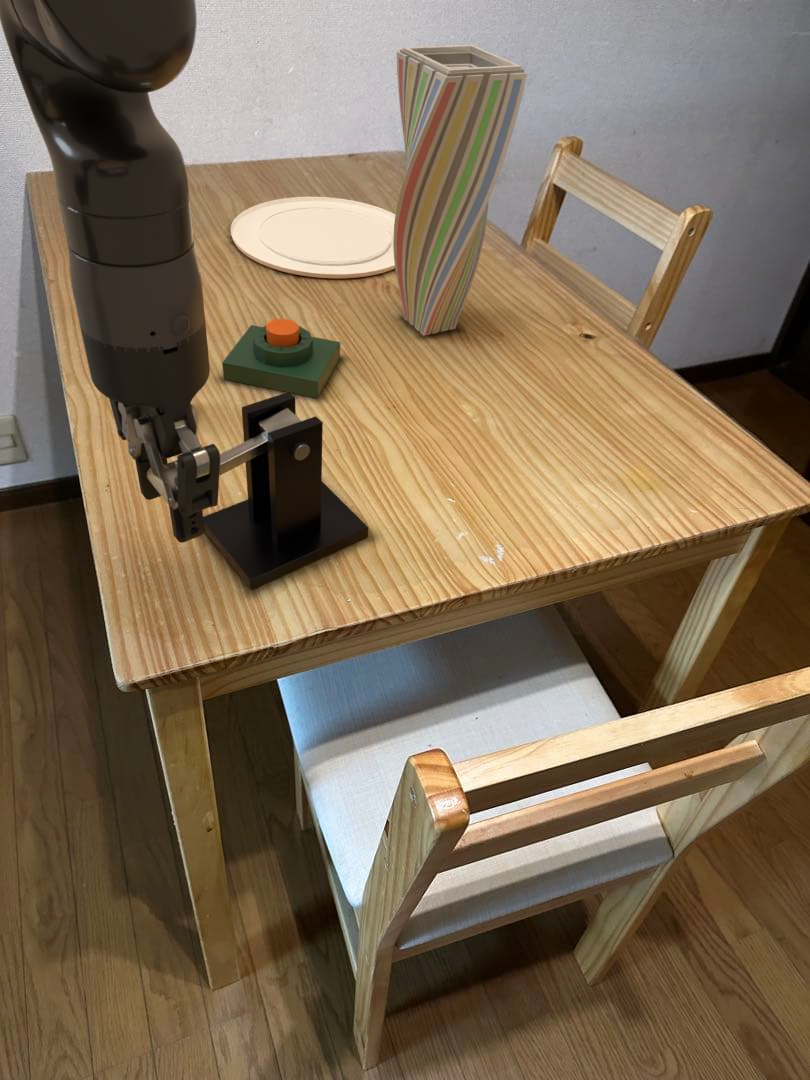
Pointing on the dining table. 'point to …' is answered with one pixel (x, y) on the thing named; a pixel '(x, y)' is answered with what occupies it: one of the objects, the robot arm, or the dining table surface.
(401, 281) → the vase
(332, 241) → the plate
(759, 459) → the dining table surface
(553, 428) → the dining table surface
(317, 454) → the bracket
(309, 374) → the button box
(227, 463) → the lever
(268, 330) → the button
